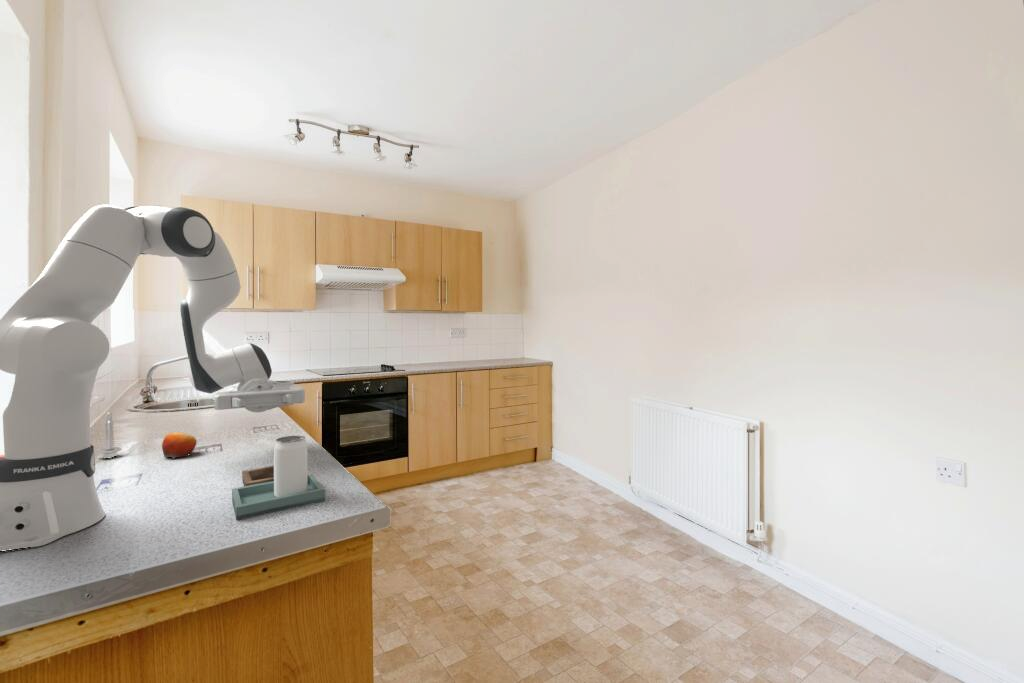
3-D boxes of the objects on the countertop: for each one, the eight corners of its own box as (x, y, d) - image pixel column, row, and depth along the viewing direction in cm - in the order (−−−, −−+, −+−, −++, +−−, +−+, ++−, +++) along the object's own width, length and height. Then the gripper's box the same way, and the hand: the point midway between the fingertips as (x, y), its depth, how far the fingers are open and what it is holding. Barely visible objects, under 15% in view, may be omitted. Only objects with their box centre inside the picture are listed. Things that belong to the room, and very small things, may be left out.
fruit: (147, 456, 123) (161, 428, 127) (171, 463, 130) (184, 436, 134) (170, 458, 121) (184, 429, 125) (194, 465, 128) (206, 437, 132)
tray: (236, 520, 86) (236, 507, 86) (232, 500, 96) (231, 488, 95) (325, 500, 95) (324, 489, 95) (312, 484, 105) (312, 473, 105)
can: (296, 500, 93) (296, 442, 93) (267, 499, 94) (266, 441, 93) (313, 489, 100) (313, 435, 99) (285, 488, 100) (285, 434, 100)
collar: (246, 494, 99) (246, 483, 99) (242, 481, 107) (242, 471, 107) (298, 484, 105) (298, 474, 105) (290, 472, 113) (290, 463, 113)
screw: (120, 458, 127) (97, 461, 124) (122, 454, 130) (100, 457, 128) (118, 412, 126) (95, 414, 123) (121, 409, 130) (98, 411, 127)
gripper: (211, 386, 114) (213, 392, 103) (299, 381, 126) (309, 386, 115) (211, 410, 115) (213, 419, 103) (299, 403, 126) (309, 410, 115)
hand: (264, 401), depth 109 cm, fingers open, 8 cm apart
